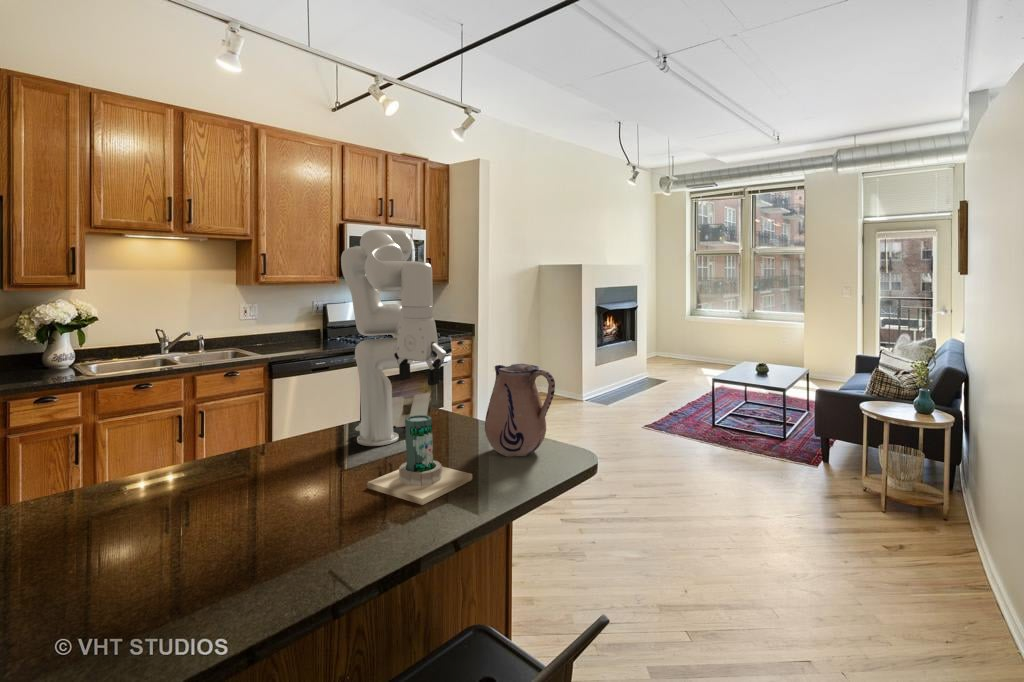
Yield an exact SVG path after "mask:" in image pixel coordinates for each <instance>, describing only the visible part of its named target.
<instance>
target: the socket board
mask: <svg viewBox="0 0 1024 682" xmlns="http://www.w3.org/2000/svg"><path fill="white" fill-rule="evenodd" d="M472 480H473V474H472V473H469V472H465V471H462V470H457V469H453V468H449V467H447V466H446V467H445V466H443V465H442V464H441V463H440V462H439V461H438V460H434V459H433V469H432V470H429V471H424V472H411V471H408V470H407V461H405V462H403V463H401V465H400V466H399V468H398V469H396V470H394V471H391V472H389V473H386V474H384V475H382V476H379V477H376V478H375V479H372V480H369V481H367V489H370V490H371V491H375V492H379V493H382V494H385V495H389V496H392V497H395V498H399V499H402V500H405V501H408V502H410V503H415V504H416V505H417V504H418V505H421V506H424V505H426V504H428V503H429V502H432V501H434V500H436V499H437V498H439V497H441V496H444V495H445V494H447V493H449V492H452V491H454V490H455V489H457V488H460V487H461V486H463V485H466V484H467V483H468V482H471V481H472Z"/></svg>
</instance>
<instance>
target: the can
mask: <svg viewBox="0 0 1024 682" xmlns="http://www.w3.org/2000/svg"><path fill="white" fill-rule="evenodd" d="M404 427H405V451H406V452H405V455H406V462H407V470H408V471H411V472H424V471H429V470H432V469H433V460H434V452H433V451H434V450H433V449H434V448H433V418H432V416H430V415H427V416H426V415H415V416H410V417H407V418H406V419H405V426H404Z"/></svg>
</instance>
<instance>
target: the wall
mask: <svg viewBox="0 0 1024 682" xmlns="http://www.w3.org/2000/svg"><path fill="white" fill-rule="evenodd" d="M430 398H431V392H426V393H425V392H424V393H418V394H414V395H413V397H408V398H405V397H404V396H402V395H401V396H396V397H393V396H392V409H393V427H396V428H402V427H403V428H404V427H405V419H406V418H407V417H410V416H415V415H426V416H428V410H429V406H430V405H429V404H430V400H431V399H430Z"/></svg>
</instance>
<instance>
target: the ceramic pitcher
mask: <svg viewBox="0 0 1024 682" xmlns="http://www.w3.org/2000/svg"><path fill="white" fill-rule="evenodd" d="M494 371H495V379H494V386H493V388H492V391H491V395H490V399H489V402H488V406H487V409H486V410H487V411H486V415H485V421H484V432H485V436H486V439H487V441H488V443H489V445H490V446H491V447H492V448H493V450H494V451H496V452H497V453H499V454H500V455H502V456H505V457H526V456H527V455H531V454H532V453H535V451H536V450H538V448H539V447H540V446H541V445H542V444H543V441H544V439H545V437H546V434H547V432H546V431H547V421H546V420H547V419H546V416H547V413H548V410H549V409H550V406H551V405H552V401H553V399H554V396H555V391H556V387H555V386H556V382H555V379H554V377H553V376H552V374H551V373H550V372H549V371H547V370H544V369H543V370H542V369H540V367H539V366H538V365H534V364H527V363H516V364H515V363H513V364H511V365H509V366H506V365H502V364H497V365H495V366H494ZM540 376H543V377H544V378H545V379H546V380H547V383H548V388H547V394H546V398H545V399H544V402H542V400H541V396H540V394H539V391H538V389H537V388H538V387H537V384H536V379H537V378H538V377H540Z"/></svg>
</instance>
